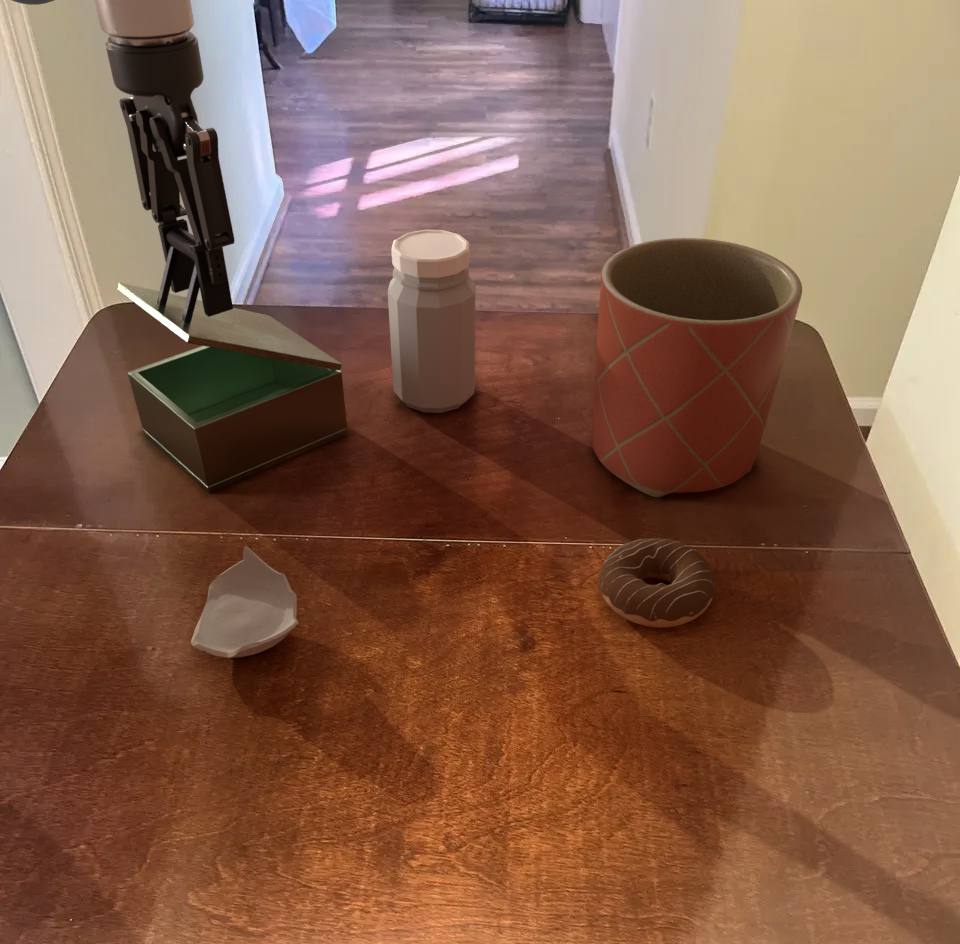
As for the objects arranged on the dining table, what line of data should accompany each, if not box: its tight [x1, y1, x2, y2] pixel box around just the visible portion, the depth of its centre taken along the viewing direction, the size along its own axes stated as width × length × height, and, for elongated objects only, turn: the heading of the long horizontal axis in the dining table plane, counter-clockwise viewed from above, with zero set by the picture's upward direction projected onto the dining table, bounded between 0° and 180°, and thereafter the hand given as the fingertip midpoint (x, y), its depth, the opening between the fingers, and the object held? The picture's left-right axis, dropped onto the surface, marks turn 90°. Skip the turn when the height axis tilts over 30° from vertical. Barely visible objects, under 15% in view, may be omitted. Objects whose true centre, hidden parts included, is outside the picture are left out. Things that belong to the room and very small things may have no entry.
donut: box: [597, 537, 716, 629], centre depth 90 cm, size 11×11×4 cm
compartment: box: [127, 345, 348, 494], centre depth 108 cm, size 18×15×8 cm
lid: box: [116, 226, 343, 371], centre depth 100 cm, size 18×15×8 cm
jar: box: [387, 229, 476, 414], centre depth 110 cm, size 10×10×18 cm
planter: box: [591, 237, 803, 498], centre depth 101 cm, size 19×19×20 cm
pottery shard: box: [190, 544, 299, 659], centre depth 86 cm, size 10×11×5 cm
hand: (202, 299), depth 98 cm, fingers closed on lid, 6 cm apart
